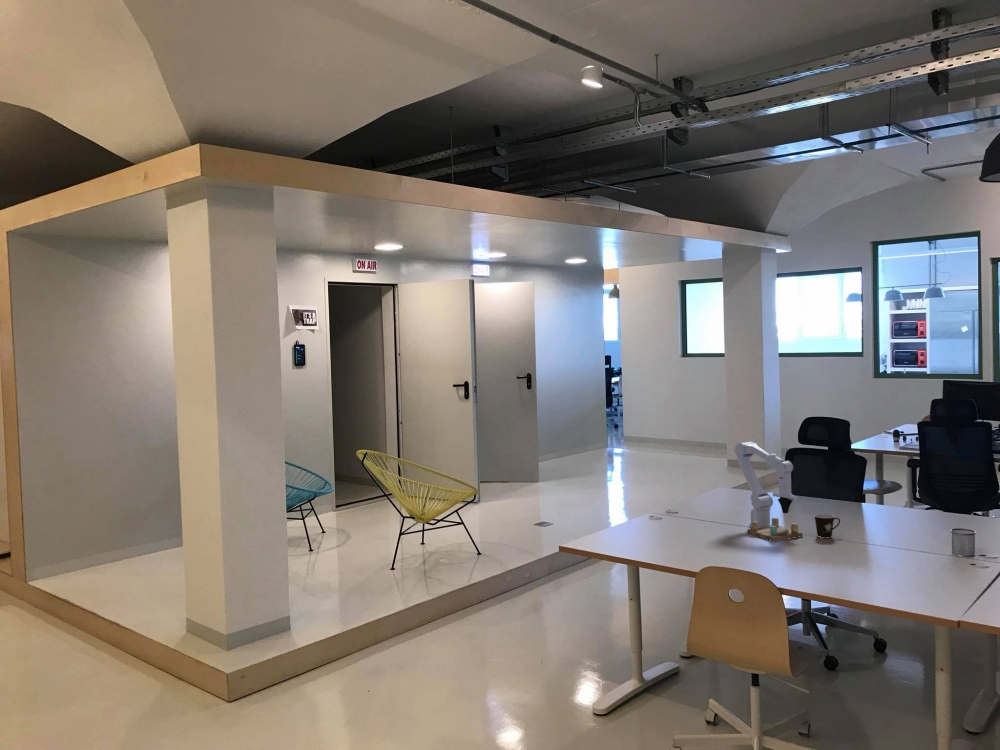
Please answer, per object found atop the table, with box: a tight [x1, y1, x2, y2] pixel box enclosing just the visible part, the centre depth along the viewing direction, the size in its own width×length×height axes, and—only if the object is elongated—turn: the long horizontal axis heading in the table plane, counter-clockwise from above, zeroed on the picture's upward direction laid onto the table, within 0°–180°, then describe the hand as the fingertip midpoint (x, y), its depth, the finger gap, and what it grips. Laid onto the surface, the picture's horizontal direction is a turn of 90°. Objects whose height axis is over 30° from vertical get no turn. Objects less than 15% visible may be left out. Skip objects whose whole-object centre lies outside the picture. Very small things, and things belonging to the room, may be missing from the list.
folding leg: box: [770, 526, 789, 536], centre depth 367 cm, size 10×3×4 cm, turn 113°
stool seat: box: [746, 517, 803, 542], centre depth 374 cm, size 18×18×6 cm
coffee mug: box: [814, 513, 841, 538], centre depth 368 cm, size 12×9×10 cm
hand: (785, 512), depth 379 cm, fingers closed
